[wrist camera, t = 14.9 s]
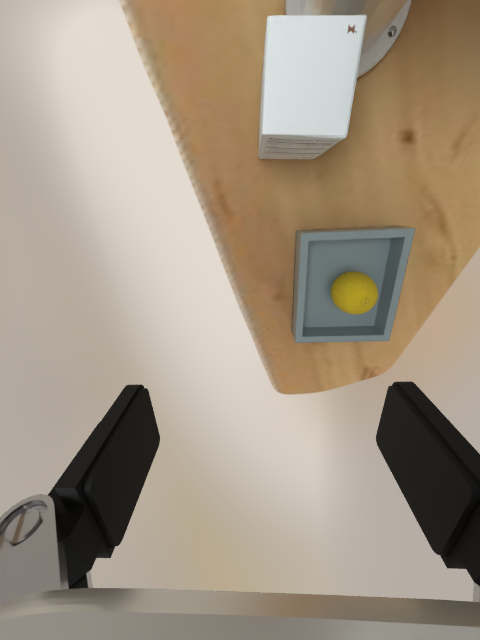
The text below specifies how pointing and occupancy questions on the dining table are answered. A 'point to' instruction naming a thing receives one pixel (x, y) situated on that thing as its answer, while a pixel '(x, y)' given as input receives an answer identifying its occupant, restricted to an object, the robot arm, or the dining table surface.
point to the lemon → (354, 292)
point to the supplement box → (308, 83)
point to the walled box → (338, 258)
